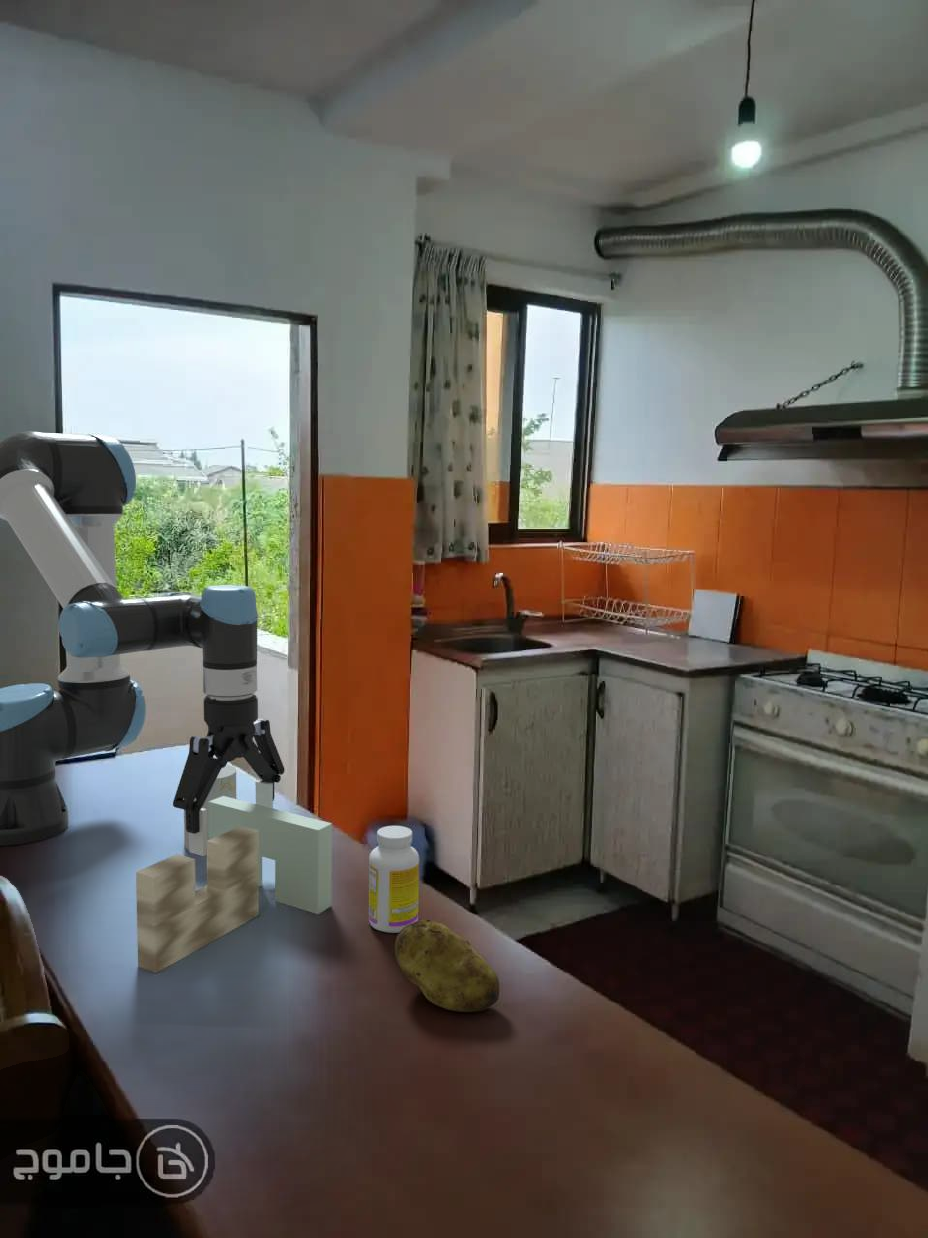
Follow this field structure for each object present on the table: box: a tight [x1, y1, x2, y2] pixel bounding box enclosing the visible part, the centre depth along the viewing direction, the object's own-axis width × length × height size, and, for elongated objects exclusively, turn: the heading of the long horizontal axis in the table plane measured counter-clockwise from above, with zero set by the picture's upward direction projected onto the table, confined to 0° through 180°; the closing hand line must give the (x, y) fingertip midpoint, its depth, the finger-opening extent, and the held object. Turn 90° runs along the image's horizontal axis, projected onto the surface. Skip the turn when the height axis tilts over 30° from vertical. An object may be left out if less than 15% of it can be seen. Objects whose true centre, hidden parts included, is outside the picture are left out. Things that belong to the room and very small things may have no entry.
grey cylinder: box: [183, 764, 237, 851], centre depth 150 cm, size 8×8×12 cm
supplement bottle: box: [368, 825, 420, 934], centre depth 125 cm, size 7×7×13 cm
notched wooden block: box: [135, 826, 260, 974], centre depth 119 cm, size 18×3×12 cm, turn 151°
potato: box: [394, 918, 500, 1013], centre depth 107 cm, size 8×13×8 cm, turn 38°
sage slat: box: [208, 796, 333, 915], centre depth 133 cm, size 20×3×12 cm, turn 61°
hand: (232, 838), depth 136 cm, fingers open, 13 cm apart
